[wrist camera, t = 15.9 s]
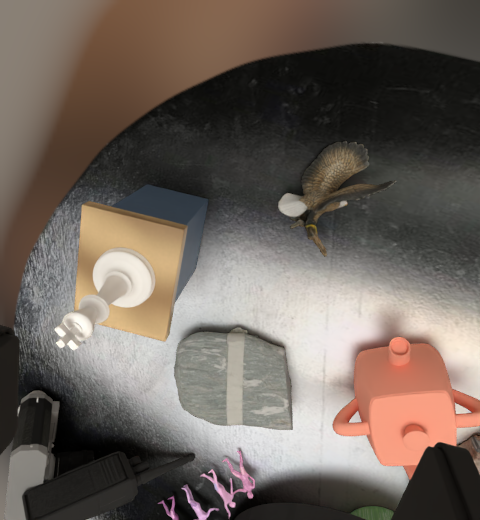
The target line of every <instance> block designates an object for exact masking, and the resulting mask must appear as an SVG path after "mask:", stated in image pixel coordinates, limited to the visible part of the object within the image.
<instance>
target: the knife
mask: <svg viewBox="0 0 480 520" xmlns="http://www.w3.org/2000/svg"><path fill="white" fill-rule="evenodd" d="M471 441H472V444H473V446H474V448H475V450H476V451H477V452H479V453H480V440H477V439H476V437H474V436H471Z"/></svg>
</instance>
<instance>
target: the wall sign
mask: <svg viewBox="0 0 480 520" xmlns="http://www.w3.org/2000/svg"><path fill="white" fill-rule="evenodd" d="M234 520H366V519H363V518H361V517H358V516H355V515H352V514H349V513H346V512H342V511H339V510H335V509H331V508H326V507H321V506H316V505H309V504H300V503H270V504H264V505H259V506H256V507H253V508H249V509H247V510H245V511H244V512H242V513H240V514H239V515H238V516H237V517H236V518H235V519H234Z"/></svg>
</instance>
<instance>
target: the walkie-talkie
mask: <svg viewBox="0 0 480 520" xmlns="http://www.w3.org/2000/svg"><path fill="white" fill-rule="evenodd" d="M194 458H195V456H194V455H193V454H190V455H188V456H186V457H183V458H180V459H178V460H175V461H172V462H170V463H167V464H165V465H162V466H159V467H157V468H154V469H150V470H147V469H149V463H148V462H143V463H141V460H140V457H139V456H135V457H132V458H131V459H127V457H126V455H125V453H123V452H120V451H117V452H114V453H112V454H109V455H107V456H104V457H102V458H100V459H97V460H95V461H92V462H90V463H89V464H85V465H82V466H80V467H78V468H75V469H73V470H70V471H68V472H66V473H64V474H61V475H59V476H57V477H55V478H53V479H50V480H48V481H46V482H44V483H43V484H40V485H37V486H35V487H33V488H31V489H29V490H27V491H25V492H24V493H23V495H22V501H23V507H24V512H25V518H26V520H86V519H89V518H92V517H94V516H97V515H100V514H102V513H105V512H108V511H110V510H113V509H115V508H117V507H120V506H122V505H124V504H126V503H129V502H131V501H133V500H134V497H135V496H136V494H137V493H138V490H137V486H139V485H140V484H141V483H142V484H145V483H146V482H148V481H150V480H152V479H154V478H156V477H157V476H159V475H162V474H164V473H166V472H168V471H170V470H172V469H175V468H177V467H179V466H181V465H184V464H186V463H188V462H190V461H193V460H194ZM145 470H147V471H145ZM143 471H144V472H143ZM140 472H141V473H140ZM138 473H140V474H139V475H136V474H138Z"/></svg>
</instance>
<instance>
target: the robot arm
mask: <svg viewBox="0 0 480 520" xmlns="http://www.w3.org/2000/svg"><path fill="white" fill-rule="evenodd" d="M18 379H19V338H18V337H17V336H14V332H13V330H12V329H11V328H9V327H5V326H1V325H0V454H1V453H2V452H3V451H4V450H5V449H6V447H7V446H8V445H9V444H10V443H11V441H12V440H13V438H14V436H15V433H16V430H17V425H18ZM391 520H480V474H479V472H478V469H477V467H476V465H475V463H474V460H473V458H472V456H471V454H470V452H469V451H468V450H467V449H465V448H461V447H458V446H454V445H450V444H446V443H442V442H438V443H436V444H435V446H434V447H430V446H428V447H427V448H426V449H425V451H424V453H423V455H422V457H421V459H420V461H419V463H418V465H417V467H416V469H415V471H414V473H413V476H412V478H411V480H410V482H409V484H408V486H407V488H406V490H405V492H404V494H403V496H402V498H401V500H400V502H399V504H398V506H397V508H396V510H395V512H394V514H393V516H392V518H391Z"/></svg>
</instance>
